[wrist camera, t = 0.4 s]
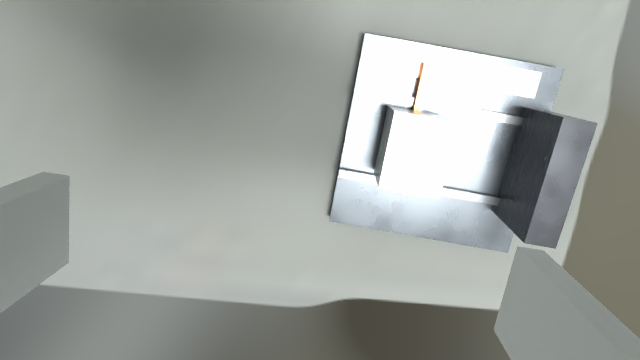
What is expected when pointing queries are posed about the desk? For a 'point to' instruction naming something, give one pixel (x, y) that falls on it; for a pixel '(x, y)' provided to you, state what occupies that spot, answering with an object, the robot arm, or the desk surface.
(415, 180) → the block
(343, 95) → the desk surface
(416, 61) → the bench
